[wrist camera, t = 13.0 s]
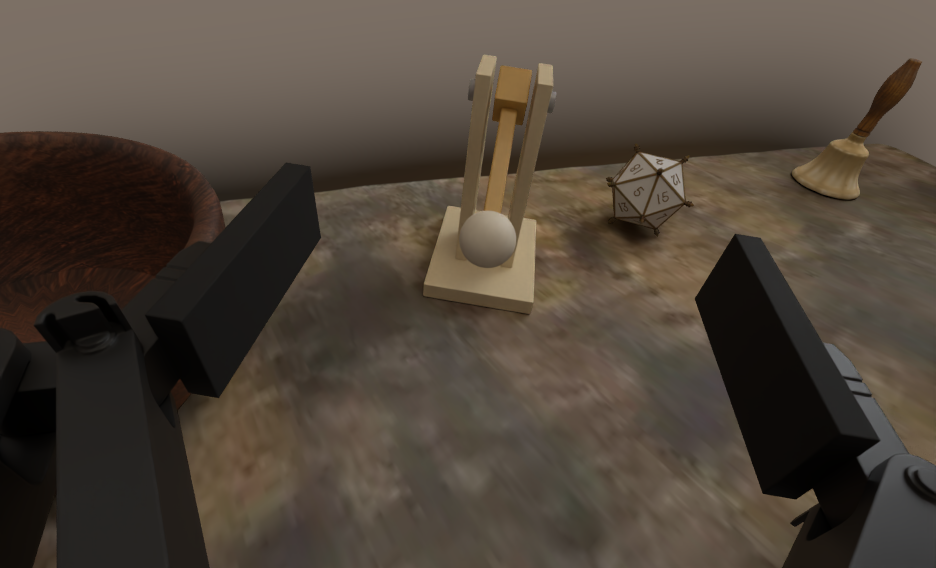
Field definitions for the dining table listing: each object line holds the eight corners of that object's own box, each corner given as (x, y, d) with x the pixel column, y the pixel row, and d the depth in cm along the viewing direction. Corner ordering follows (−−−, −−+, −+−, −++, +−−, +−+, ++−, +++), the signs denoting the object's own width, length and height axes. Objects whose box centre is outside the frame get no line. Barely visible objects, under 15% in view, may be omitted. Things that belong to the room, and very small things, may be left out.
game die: (604, 243, 52) (582, 158, 50) (675, 220, 52) (656, 133, 50) (635, 256, 43) (610, 154, 41) (721, 228, 43) (700, 123, 41)
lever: (508, 279, 30) (515, 261, 26) (454, 270, 30) (454, 250, 26) (535, 100, 34) (544, 64, 30) (487, 93, 34) (491, 56, 30)
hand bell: (817, 166, 66) (899, 48, 55) (871, 196, 60) (974, 71, 50) (778, 171, 63) (856, 48, 52) (831, 203, 58) (930, 72, 47)
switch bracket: (530, 314, 37) (588, 113, 26) (422, 296, 37) (434, 88, 26) (533, 231, 46) (577, 54, 35) (446, 216, 46) (462, 36, 35)
